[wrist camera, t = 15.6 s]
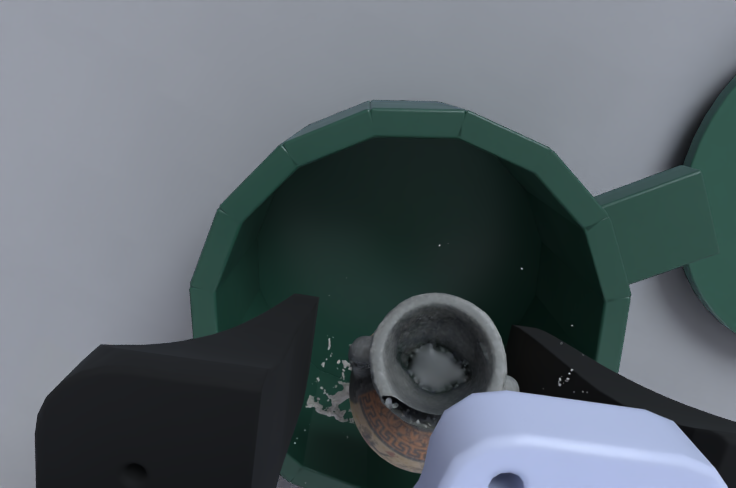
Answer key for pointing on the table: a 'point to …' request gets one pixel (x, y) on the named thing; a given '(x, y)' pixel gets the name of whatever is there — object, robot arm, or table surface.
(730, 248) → the pot lid
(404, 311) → the vase
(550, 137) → the table surface
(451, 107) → the pot
